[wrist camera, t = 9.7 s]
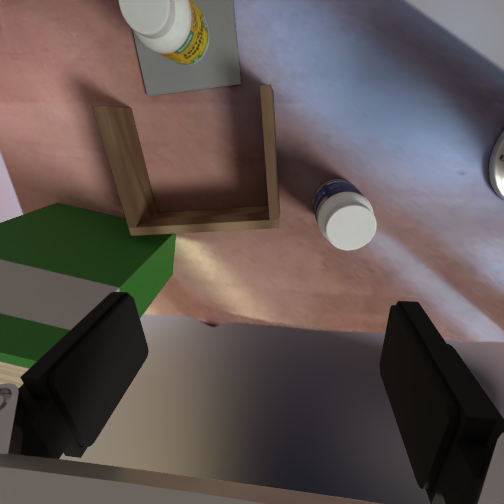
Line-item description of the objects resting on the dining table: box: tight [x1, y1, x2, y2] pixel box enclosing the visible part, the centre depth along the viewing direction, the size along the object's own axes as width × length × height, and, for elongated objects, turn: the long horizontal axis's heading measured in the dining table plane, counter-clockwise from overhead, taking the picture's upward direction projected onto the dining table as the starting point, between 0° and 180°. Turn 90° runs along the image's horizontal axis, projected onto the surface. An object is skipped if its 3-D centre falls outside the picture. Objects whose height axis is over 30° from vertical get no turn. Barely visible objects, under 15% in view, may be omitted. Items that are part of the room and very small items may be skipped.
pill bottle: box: [313, 179, 376, 250], centre depth 31 cm, size 6×6×10 cm
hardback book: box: [0, 203, 176, 388], centre depth 30 cm, size 18×7×24 cm, turn 78°
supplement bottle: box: [119, 0, 209, 65], centre depth 25 cm, size 5×5×10 cm
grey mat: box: [133, 0, 241, 96], centre depth 29 cm, size 11×10×1 cm
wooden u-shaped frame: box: [93, 84, 280, 236], centre depth 32 cm, size 18×14×6 cm
